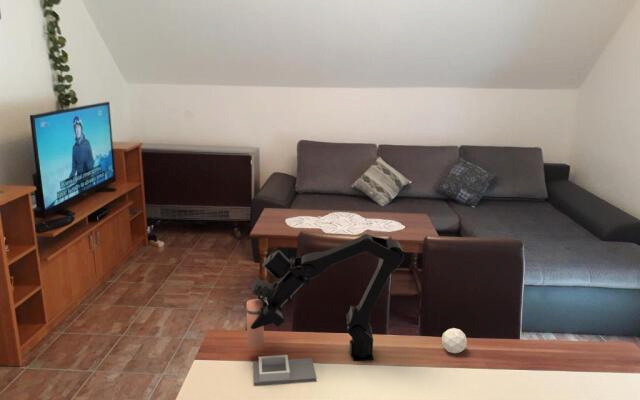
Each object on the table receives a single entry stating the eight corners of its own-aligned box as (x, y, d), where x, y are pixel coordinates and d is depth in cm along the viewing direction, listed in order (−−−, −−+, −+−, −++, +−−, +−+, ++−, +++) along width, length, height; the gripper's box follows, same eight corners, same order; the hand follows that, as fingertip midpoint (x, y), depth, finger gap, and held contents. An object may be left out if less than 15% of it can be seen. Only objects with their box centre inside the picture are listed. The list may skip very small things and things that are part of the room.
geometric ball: (454, 355, 165) (466, 333, 166) (461, 360, 157) (474, 338, 158) (434, 342, 166) (446, 321, 166) (441, 347, 158) (454, 325, 158)
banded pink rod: (263, 338, 158) (263, 298, 154) (264, 348, 153) (263, 306, 149) (247, 339, 157) (246, 299, 153) (247, 349, 152) (246, 307, 148)
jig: (311, 361, 156) (312, 351, 155) (316, 381, 146) (316, 370, 145) (253, 364, 153) (252, 354, 152) (253, 385, 144) (253, 375, 143)
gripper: (263, 259, 158) (229, 294, 159) (272, 285, 141) (233, 324, 141) (288, 280, 162) (254, 314, 163) (299, 308, 145) (261, 346, 145)
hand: (250, 323), depth 153 cm, fingers closed on banded pink rod, 5 cm apart
